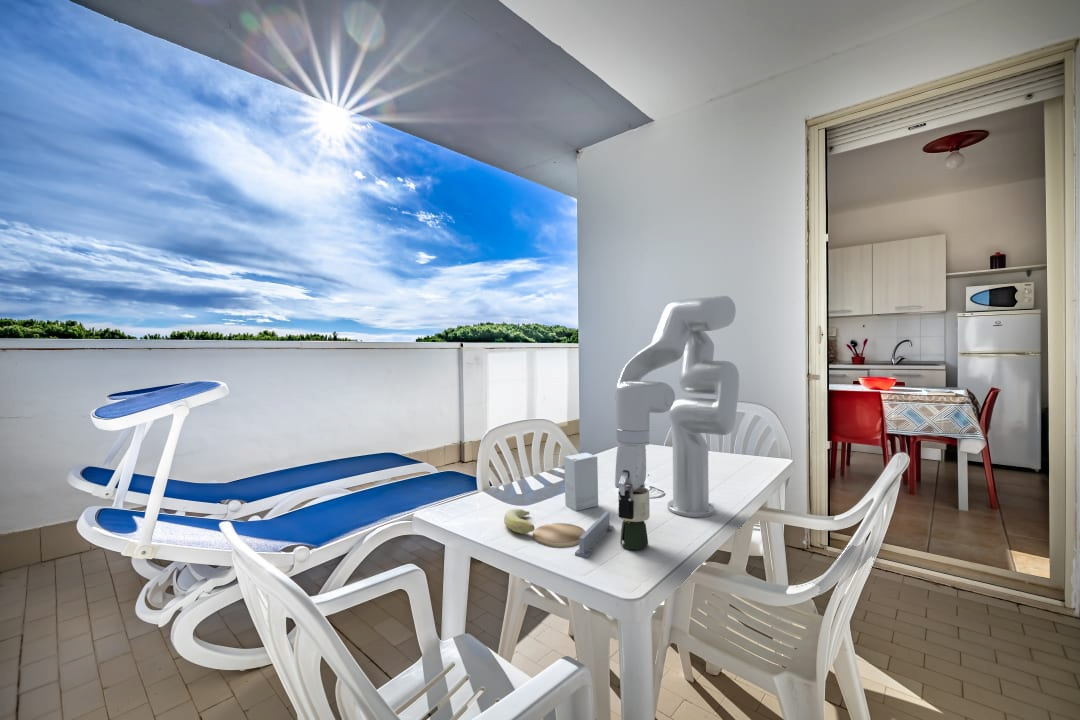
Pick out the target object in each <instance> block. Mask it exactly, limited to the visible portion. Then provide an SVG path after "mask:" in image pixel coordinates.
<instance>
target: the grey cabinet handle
mask: <svg viewBox="0 0 1080 720" xmlns="http://www.w3.org/2000/svg"><path fill="white" fill-rule="evenodd" d="M610 515H611V513H610V511H605V512H604V513H603V514H601V516H599V518H598V519H596V520H595V522H594V523H592V525H590V527H588V528H587V529H586V530H585V533H584V534H583V535H582V536H581V537H580V538H579V544H578V549H577V550H576V551H575V552H574V556H576V557H582V558H587V559H588V558H589V557H590V556H591V555H592V551H593V550H591V549H592V548H593V547H594V546H595V545H596V544H597V543H598V542H599V541H600V539H601V538H602V537H603V536H604V535H605V534H606V533H607V532H612V531H613V530H614V528H615V526H614V525H611V522H610V518H611V517H610Z"/></svg>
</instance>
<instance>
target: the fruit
mask: <svg viewBox="0 0 1080 720" xmlns="http://www.w3.org/2000/svg"><path fill="white" fill-rule="evenodd" d="M528 515H530V511H529V510H528V511H526V510H525V509H521V508H512V509H509V510H507V511H506V512H505V513H504V516H503V522H504V523H503V524H504V525H505V527H506V528H508V529H510V530H511V531H513V532H516V533H519V534H524V535H525V534H528V533H533V532H534V530H535V529H536V528H535V525H534V524H532V522H530V521H528V520H526V519H523V518H524V517H526V516H528Z"/></svg>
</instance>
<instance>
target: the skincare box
mask: <svg viewBox="0 0 1080 720" xmlns="http://www.w3.org/2000/svg"><path fill="white" fill-rule="evenodd" d="M563 459H564V461H563V464H564V498H565V499H564V503H565V506H566V507H568V508H569V509H571V510H573V511H575V512H577V511H581V510H582V511H583V510H585V509H590V508H594V507H598V506H599V479H598V478H599V476H598V475H599V474H598V456H597V455H594V454H591V453H588V452H581V453H577V454H572V455H571V454H570V455H566V456H564V457H563Z"/></svg>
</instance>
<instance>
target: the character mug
mask: <svg viewBox="0 0 1080 720" xmlns="http://www.w3.org/2000/svg"><path fill="white" fill-rule="evenodd" d="M649 490H650V489H648V488H646V487H645V488H644V487H639V488H638V489H636V490H634V492H633V497H632V501H634V518H633V519H625V518H620V519H621V520H623V521H622V523H621V531H620V541H619V542H620V545H621V546H622V545H624V548H625V549H629V550H638V549H639V550H640V549H642V548H646V547H647V546H648V545H649V539H648V538H649V537H648V530H647V526H646V523H645V521H647V520H649V518H650V514H651V513H650V491H649ZM617 491H618V492H619V488H617ZM628 493H630V491H628ZM617 501H618V502H619V493H617ZM617 514H618V516H619V507H618V509H617Z"/></svg>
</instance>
